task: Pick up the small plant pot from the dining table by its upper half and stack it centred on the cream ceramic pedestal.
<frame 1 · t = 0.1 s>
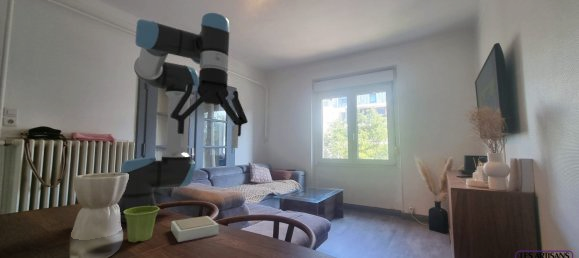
hand: (210, 147, 64), 28 cm above the table, fingers open, 13 cm apart
plant pot: (140, 239, 72), on the table
pedestal: (194, 232, 78), on the table
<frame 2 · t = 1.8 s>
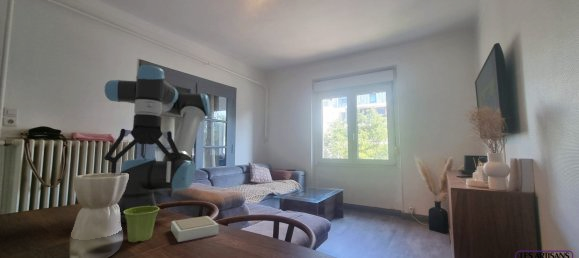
hand: (143, 183, 73), 17 cm above the table, fingers open, 13 cm apart
nothing on the table moved.
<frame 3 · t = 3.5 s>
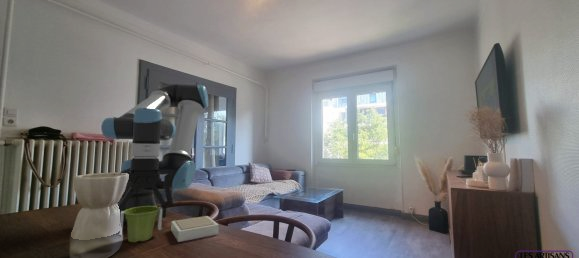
hand: (140, 231, 72), 2 cm above the table, fingers closed on plant pot, 9 cm apart
plant pot: (140, 239, 72), on the table, touching gripper
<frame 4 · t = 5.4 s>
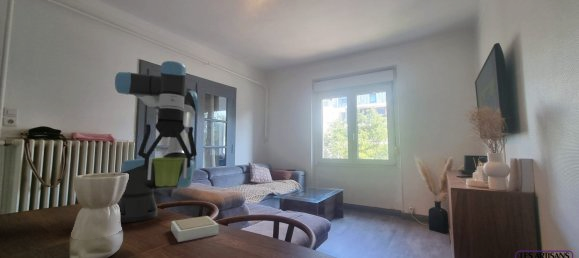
hand: (167, 178, 76), 18 cm above the table, fingers closed on plant pot, 9 cm apart
plant pot: (166, 186, 75), point 16 cm above the table, touching gripper
when the fingers open (6 cm above the table, at t = 7.7 s): plant pot stays where it is, resting on pedestal.
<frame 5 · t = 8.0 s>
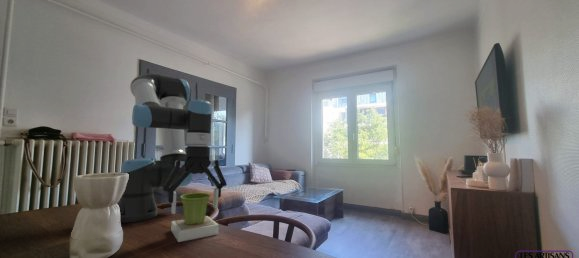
hand: (195, 210, 79), 7 cm above the table, fingers open, 13 cm apart
plant pot: (194, 222, 79), point 3 cm above the table, touching pedestal
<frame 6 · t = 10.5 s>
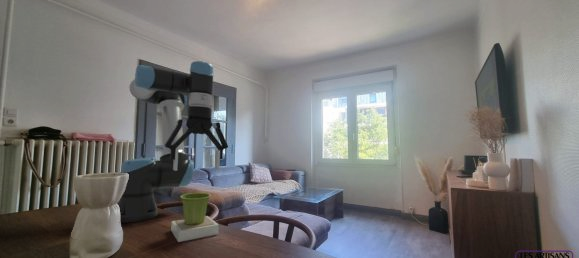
hand: (197, 169, 80), 21 cm above the table, fingers open, 13 cm apart
nothing on the table moved.
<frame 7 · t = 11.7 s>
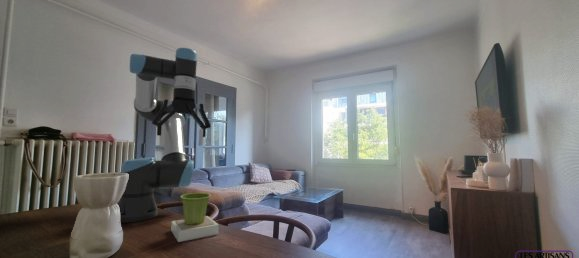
hand: (181, 145, 89), 29 cm above the table, fingers open, 13 cm apart
nothing on the table moved.
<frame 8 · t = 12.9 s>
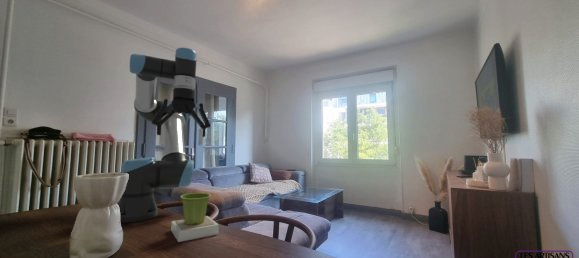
hand: (181, 145, 89), 29 cm above the table, fingers open, 13 cm apart
nothing on the table moved.
at the end: plant pot inside the target area on the pedestal (0.1 cm from its centre), point 3.0 cm above the pedestal's base; plant pot tilted 0°; the gripper is holding nothing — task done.
